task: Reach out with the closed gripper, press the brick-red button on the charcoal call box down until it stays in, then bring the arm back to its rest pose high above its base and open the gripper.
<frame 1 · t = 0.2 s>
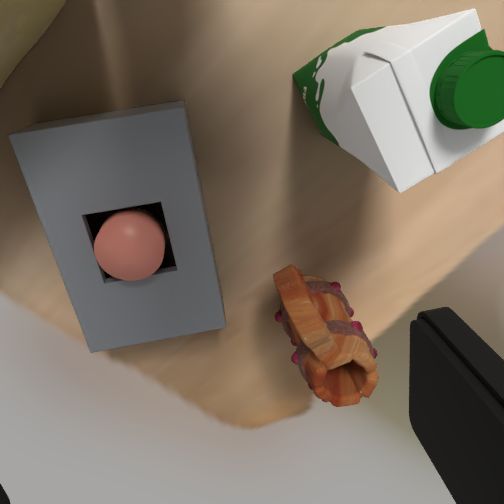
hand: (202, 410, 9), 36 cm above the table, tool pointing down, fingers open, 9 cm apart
orange-brown ridged cylinder: (298, 282, 50), on the table
call box: (139, 220, 45), on the table
milk carton: (339, 86, 42), on the table
call button: (131, 244, 39), point 6 cm above the table, slide at 0.0 cm
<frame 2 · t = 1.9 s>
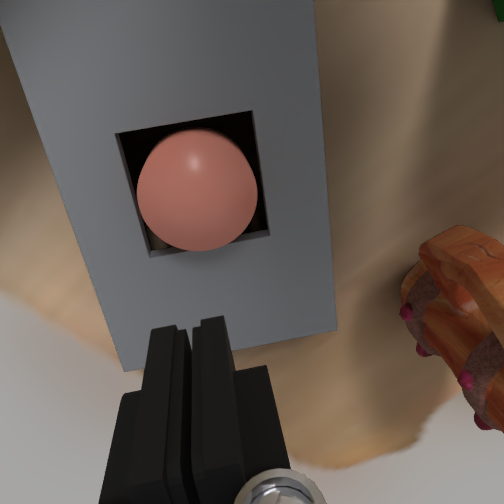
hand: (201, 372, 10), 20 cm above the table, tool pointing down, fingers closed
orange-brown ridged cylinder: (424, 262, 34), on the table
call box: (197, 162, 28), on the table
call button: (198, 188, 23), point 6 cm above the table, slide at 0.0 cm
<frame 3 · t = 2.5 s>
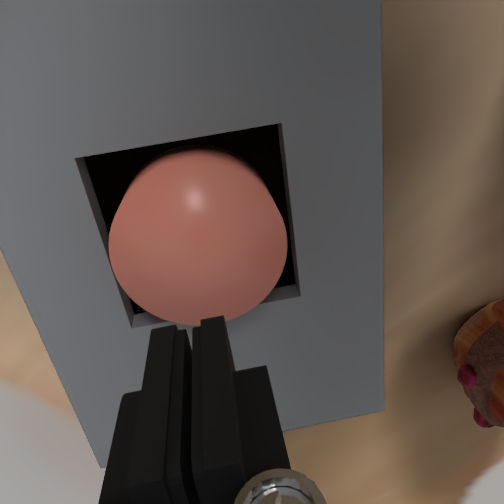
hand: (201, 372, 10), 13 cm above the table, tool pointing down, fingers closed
orange-brown ridged cylinder: (483, 307, 27), on the table
call box: (198, 186, 21), on the table
call button: (199, 234, 16), point 6 cm above the table, slide at 0.0 cm
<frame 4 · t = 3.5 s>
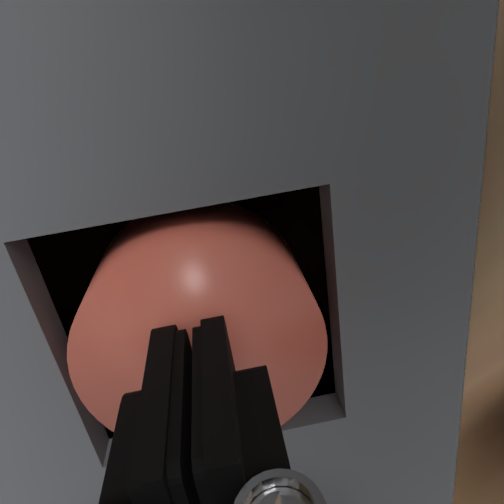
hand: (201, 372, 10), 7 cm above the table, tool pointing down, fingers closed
call box: (199, 245, 16), on the table
call button: (201, 325, 11), point 5 cm above the table, slide at 0.8 cm
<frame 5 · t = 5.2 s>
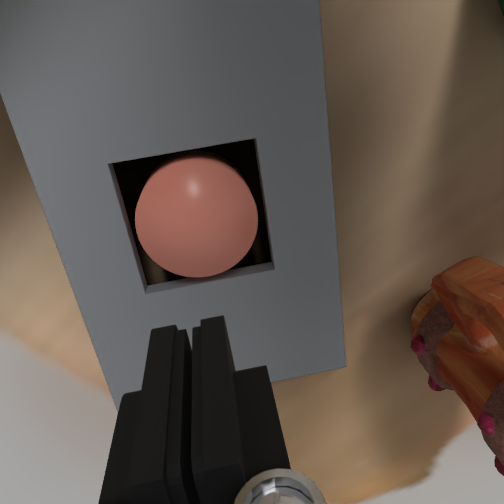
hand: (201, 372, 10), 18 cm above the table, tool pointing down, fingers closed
orange-brown ridged cylinder: (434, 290, 32), on the table
call box: (196, 189, 27), on the table
call button: (197, 213, 22), point 5 cm above the table, slide at 1.2 cm
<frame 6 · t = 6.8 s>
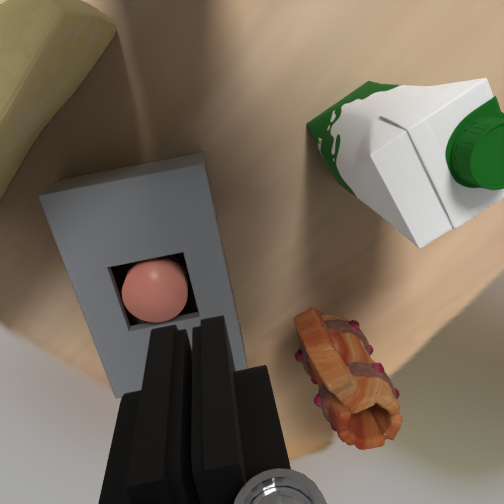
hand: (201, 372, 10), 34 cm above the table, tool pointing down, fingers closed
cheese: (24, 107, 39), on the table
orange-brown ridged cylinder: (316, 320, 51), on the table
call box: (160, 266, 46), on the table
milk carton: (351, 132, 43), on the table
call button: (156, 287, 41), point 5 cm above the table, slide at 1.2 cm
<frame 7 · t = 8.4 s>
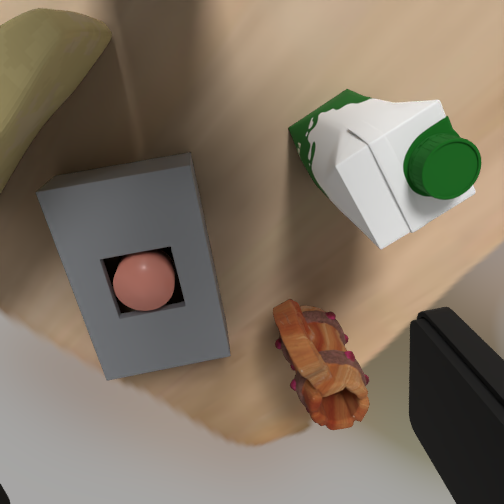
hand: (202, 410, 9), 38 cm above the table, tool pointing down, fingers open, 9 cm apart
cheese: (24, 105, 41), on the table
orange-brown ridged cylinder: (296, 311, 54), on the table
call box: (149, 258, 49), on the table
milk carton: (331, 136, 46), on the table
call button: (145, 278, 44), point 5 cm above the table, slide at 1.2 cm
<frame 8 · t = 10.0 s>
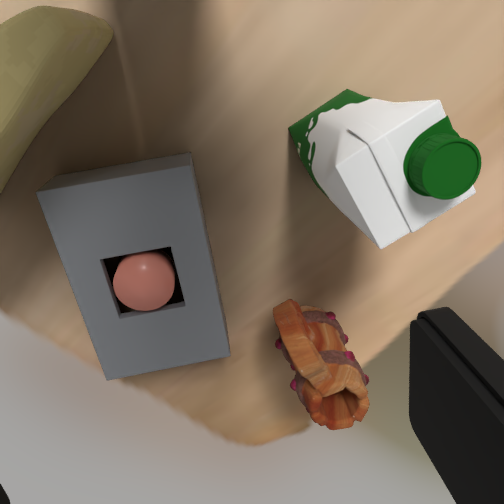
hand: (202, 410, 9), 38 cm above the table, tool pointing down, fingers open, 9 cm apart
cheese: (26, 104, 41), on the table
orange-brown ridged cylinder: (296, 311, 54), on the table
call box: (149, 258, 49), on the table
milk carton: (331, 136, 46), on the table
call button: (145, 278, 44), point 5 cm above the table, slide at 1.2 cm
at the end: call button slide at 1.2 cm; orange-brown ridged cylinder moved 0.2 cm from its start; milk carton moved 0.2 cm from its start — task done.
